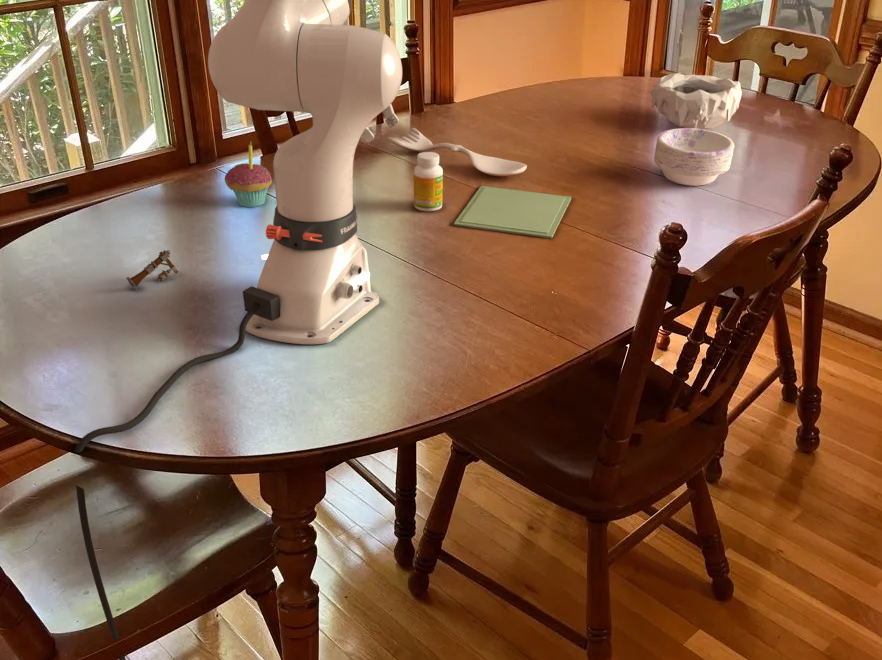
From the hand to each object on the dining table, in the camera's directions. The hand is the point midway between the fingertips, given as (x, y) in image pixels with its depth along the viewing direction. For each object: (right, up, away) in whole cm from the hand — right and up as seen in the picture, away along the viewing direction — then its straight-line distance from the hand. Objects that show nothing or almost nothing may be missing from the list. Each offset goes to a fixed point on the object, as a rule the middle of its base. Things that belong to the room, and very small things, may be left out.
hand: (384, 131), depth 168 cm
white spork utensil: (+14, +2, +25) cm, 28 cm away
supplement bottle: (+8, -13, +5) cm, 16 cm away
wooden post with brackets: (-35, -32, -22) cm, 52 cm away
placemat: (+24, -14, +4) cm, 28 cm away
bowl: (+69, +18, +48) cm, 86 cm away
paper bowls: (+61, -3, +20) cm, 64 cm away
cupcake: (-25, -12, +5) cm, 28 cm away
